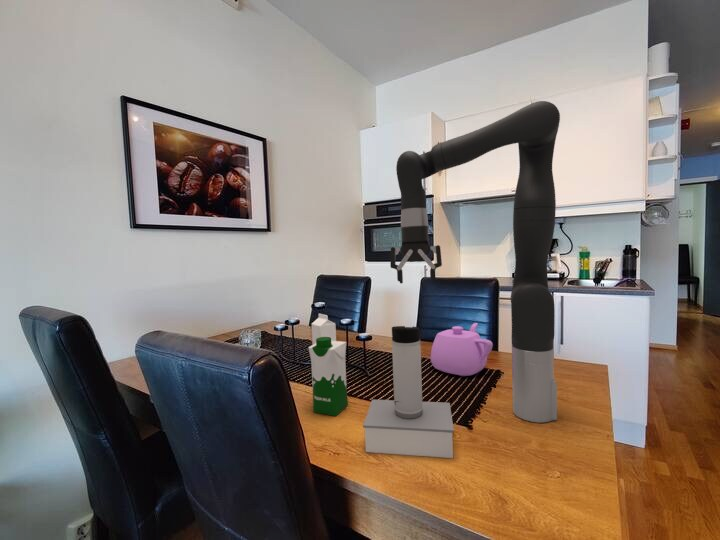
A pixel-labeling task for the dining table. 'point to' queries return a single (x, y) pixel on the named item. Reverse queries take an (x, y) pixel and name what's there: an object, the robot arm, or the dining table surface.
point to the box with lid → (409, 430)
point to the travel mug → (407, 371)
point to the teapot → (460, 351)
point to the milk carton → (328, 376)
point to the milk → (323, 328)
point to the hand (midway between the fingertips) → (416, 282)
